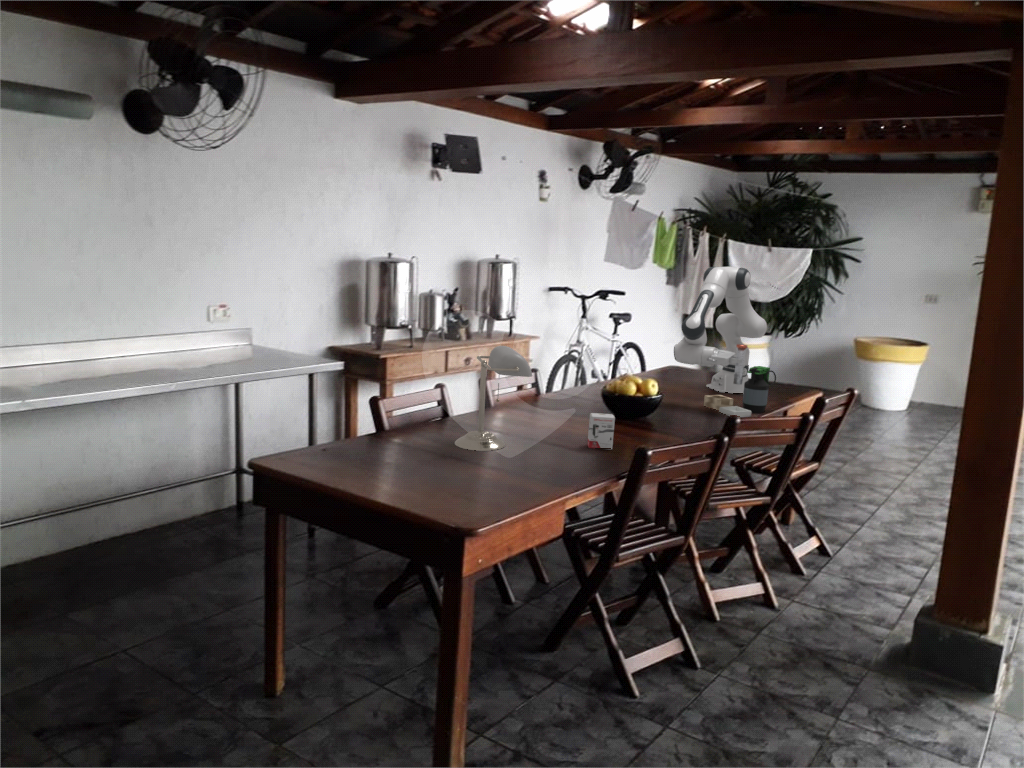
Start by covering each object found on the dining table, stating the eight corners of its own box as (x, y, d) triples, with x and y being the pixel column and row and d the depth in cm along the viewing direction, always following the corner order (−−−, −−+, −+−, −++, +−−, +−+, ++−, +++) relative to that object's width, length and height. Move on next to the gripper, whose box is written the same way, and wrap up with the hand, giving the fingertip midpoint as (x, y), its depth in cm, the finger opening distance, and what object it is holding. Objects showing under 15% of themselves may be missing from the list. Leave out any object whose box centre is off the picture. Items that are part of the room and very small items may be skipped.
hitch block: (703, 406, 365) (704, 395, 364) (719, 405, 369) (720, 394, 368) (716, 410, 357) (717, 399, 356) (732, 409, 361) (733, 398, 360)
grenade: (772, 410, 364) (778, 367, 360) (759, 414, 354) (764, 370, 350) (751, 406, 371) (755, 363, 367) (737, 409, 361) (742, 366, 357)
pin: (729, 382, 350) (734, 344, 346) (738, 382, 352) (742, 344, 348) (737, 384, 345) (741, 345, 342) (745, 384, 347) (749, 345, 344)
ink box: (588, 448, 282) (590, 416, 280) (587, 444, 287) (589, 412, 285) (612, 449, 282) (615, 417, 280) (611, 446, 287) (613, 414, 285)
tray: (718, 412, 353) (719, 407, 353) (735, 411, 357) (736, 406, 357) (733, 417, 345) (734, 412, 344) (750, 416, 349) (751, 410, 348)
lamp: (531, 454, 271) (537, 355, 264) (460, 454, 266) (464, 354, 259) (514, 434, 296) (520, 343, 290) (449, 434, 291) (453, 342, 284)
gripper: (706, 352, 342) (739, 356, 336) (715, 347, 360) (746, 350, 355) (704, 366, 343) (737, 370, 337) (713, 361, 361) (745, 364, 356)
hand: (742, 360), depth 346 cm, fingers closed on pin, 4 cm apart
